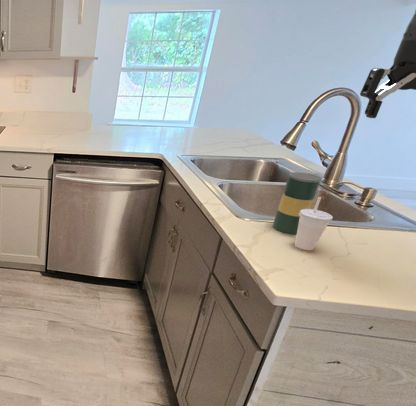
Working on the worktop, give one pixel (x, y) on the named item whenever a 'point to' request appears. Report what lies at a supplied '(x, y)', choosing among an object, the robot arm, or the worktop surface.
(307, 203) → the tin can
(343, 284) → the worktop surface
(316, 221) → the smoothie
